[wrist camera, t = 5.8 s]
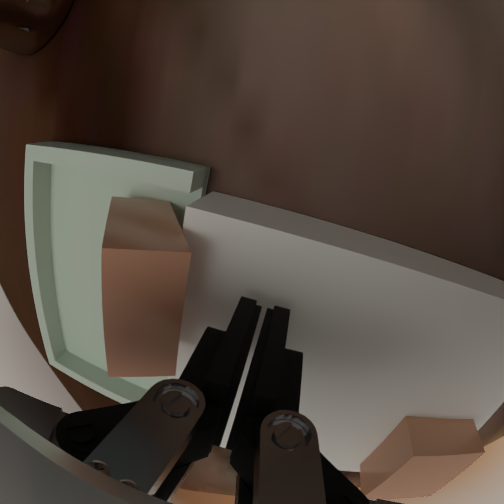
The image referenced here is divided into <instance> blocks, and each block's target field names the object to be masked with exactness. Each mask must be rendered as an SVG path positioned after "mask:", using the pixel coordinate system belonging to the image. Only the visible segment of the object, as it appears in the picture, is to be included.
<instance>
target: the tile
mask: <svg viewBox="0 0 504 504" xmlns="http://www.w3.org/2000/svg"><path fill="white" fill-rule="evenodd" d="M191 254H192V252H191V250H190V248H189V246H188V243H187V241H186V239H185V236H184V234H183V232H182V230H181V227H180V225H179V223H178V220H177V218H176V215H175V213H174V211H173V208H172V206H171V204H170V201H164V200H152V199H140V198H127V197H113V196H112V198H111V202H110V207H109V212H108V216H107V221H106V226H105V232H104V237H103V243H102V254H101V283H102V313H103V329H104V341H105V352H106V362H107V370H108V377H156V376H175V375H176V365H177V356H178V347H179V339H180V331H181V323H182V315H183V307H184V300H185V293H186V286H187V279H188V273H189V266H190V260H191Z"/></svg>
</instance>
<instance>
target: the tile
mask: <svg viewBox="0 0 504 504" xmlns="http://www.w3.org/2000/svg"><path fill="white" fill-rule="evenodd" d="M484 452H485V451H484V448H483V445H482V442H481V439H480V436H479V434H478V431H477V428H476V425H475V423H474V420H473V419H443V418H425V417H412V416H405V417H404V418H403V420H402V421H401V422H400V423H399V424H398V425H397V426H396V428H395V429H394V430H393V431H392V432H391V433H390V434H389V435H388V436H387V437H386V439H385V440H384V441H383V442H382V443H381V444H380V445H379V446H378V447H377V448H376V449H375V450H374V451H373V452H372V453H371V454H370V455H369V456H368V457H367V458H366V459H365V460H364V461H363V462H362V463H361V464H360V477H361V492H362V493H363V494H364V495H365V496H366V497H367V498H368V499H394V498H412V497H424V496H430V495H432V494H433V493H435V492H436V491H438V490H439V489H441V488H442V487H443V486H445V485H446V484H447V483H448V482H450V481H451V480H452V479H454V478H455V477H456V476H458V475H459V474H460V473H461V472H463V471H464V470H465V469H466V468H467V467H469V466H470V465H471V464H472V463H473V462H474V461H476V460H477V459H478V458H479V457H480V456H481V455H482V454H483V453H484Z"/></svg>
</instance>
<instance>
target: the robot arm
mask: <svg viewBox="0 0 504 504" xmlns="http://www.w3.org/2000/svg"><path fill="white" fill-rule="evenodd" d="M256 303H257V300H254V299H250V298H246V297H243V296H241V298H240V300H239V302H238V305H237V307H236V309H235V312H234V314H233V316H232V319H231V321H230V323H229V325H228V328H227V330H226V331H222V330H219V329H216V328H213V327H209V326H208V327H207V328H206V329H205V331H204V333H203V335H202V337H201V339H200V341H199V342H198V344H197V346H196V348H195V350H194V352H193V354H192V355H191V357H190V359H189V361H188V363H187V365H186V367H185V368H184V370H183V372H182V374H181V376H180V378H179V379H164V380H162V381H159V382H157V383H156V384H154V385H153V386H152V387H151V388H150V389H149V390H148V391H147V392H146V393H145V395H144V396H143V397H142V398H141V399H140V400H138V401H134V402H129V403H124V404H119V405H114V406H109V407H103V408H97V409H91V410H85V411H78V412H74V413H71V414H68V413H65V412H63V410H62V409H61V408H59V407H56V406H54V405H51V404H49V403H46V402H43V401H41V400H38V399H36V398H34V397H31V396H29V395H26V394H24V393H22V392H20V391H17V390H15V389H13V388H10V387H0V504H172V503H170V501H171V500H172V498H173V496H174V495H175V493H176V491H177V490H178V489H179V487H180V486H181V484H182V482H183V481H184V479H185V478H186V476H187V474H188V473H189V471H190V470H191V468H192V466H193V465H194V462H195V461H197V460H200V459H203V458H205V457H208V455H209V453H210V452H211V449H212V447H213V445H216V446H219V447H220V444H221V441H222V438H223V435H224V432H225V429H226V426H227V423H228V419H229V416H230V413H231V410H232V407H233V404H234V400H235V397H236V394H237V391H238V387H239V384H240V381H241V378H242V374H243V371H244V368H245V364H246V361H247V358H248V354H249V351H250V347H251V344H252V340H253V337H254V333H255V330H256V326H257V323H258V319H259V316H260V312H261V309H262V306H259V305H256ZM289 317H290V309H287V308H283V307H279V306H274V308H273V309H270V308H267V310H266V314H265V317H264V320H263V324H262V327H261V331H260V334H259V337H258V341H257V344H256V347H255V350H254V354H253V357H252V360H251V364H250V367H249V370H248V374H247V377H246V381H245V384H244V388H243V391H242V394H241V398H240V401H239V405H238V408H237V411H236V415H235V418H234V421H233V425H232V428H231V431H230V435H229V438H228V441H227V444H226V449H230V450H232V452H231V455H230V459H231V460H230V464H231V465H232V467H233V468H234V469H235V471H236V472H237V473H238V474H237V477H236V491H235V504H402V503H397V502H391V501H386V500H381V499H376V500H375V501H372V500H368V498H367V497H366V496H365V495H364V494H363V493H362V492H361V491H360V490H359V489H358V488H357V487H356V486H355V485H354V484H352V483H351V482H350V481H349V480H348V479H347V478H346V477H345V476H344V475H343V474H342V473H341V472H340V471H339V470H338V469H337V468H336V467H335V466H334V465H333V464H332V463H331V462H330V461H329V460H328V459H327V458H326V457H325V456H324V455H323V454H322V453H321V452H320V449H319V441H318V434H317V431H316V428H315V426H314V424H313V423H312V422H311V420H309V419H308V418H307V417H306V416H304V415H302V414H300V413H299V405H300V393H301V381H302V367H303V352H299V351H295V350H291V349H287V348H285V347H286V340H287V332H288V325H289Z"/></svg>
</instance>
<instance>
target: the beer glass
mask: <svg viewBox="0 0 504 504" xmlns="http://www.w3.org/2000/svg"><path fill="white" fill-rule="evenodd" d="M72 2H73V0H0V48H1V49H4V50H7V51H9V52H12V53H15V54H18V55H30V54H33V53H35V52H36V51H38V50H39V49H40V48H42V47H43V46H44V45H45V44H46V43H47V42H48V41H49V40H50V39H51V38H52V37H53V35H54V34H55V33H56V32H57V30H58V29H59V27H60V26H61V24H62V23H63V21H64V19H65V18H66V16H67V14H68V12H69V10H70V7H71V5H72Z"/></svg>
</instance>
